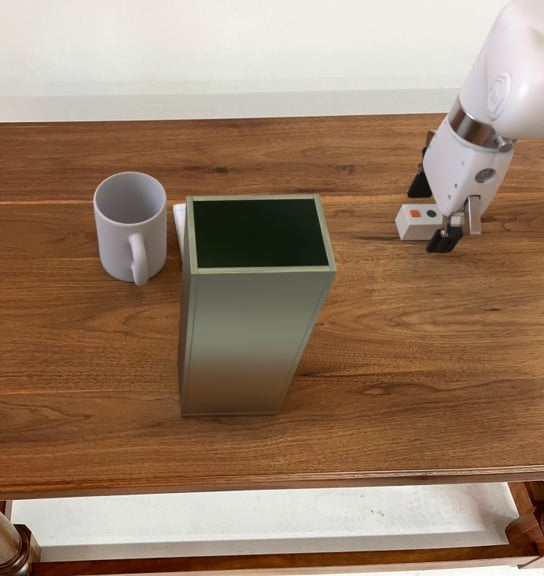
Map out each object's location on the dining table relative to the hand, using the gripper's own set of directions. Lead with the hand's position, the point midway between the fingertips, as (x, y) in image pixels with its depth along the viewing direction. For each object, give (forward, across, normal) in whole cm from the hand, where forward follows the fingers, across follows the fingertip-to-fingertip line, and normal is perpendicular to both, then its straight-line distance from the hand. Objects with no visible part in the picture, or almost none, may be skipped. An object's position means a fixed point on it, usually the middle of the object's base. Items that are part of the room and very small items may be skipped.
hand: (427, 222), depth 79 cm
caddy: (+1, -22, +28) cm, 36 cm away
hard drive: (+2, -2, +29) cm, 29 cm away
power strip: (+1, 0, 0) cm, 1 cm away
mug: (+2, -5, +38) cm, 39 cm away
